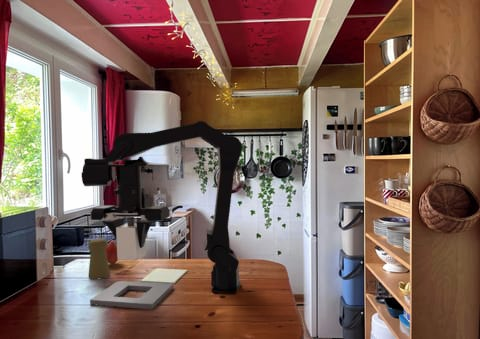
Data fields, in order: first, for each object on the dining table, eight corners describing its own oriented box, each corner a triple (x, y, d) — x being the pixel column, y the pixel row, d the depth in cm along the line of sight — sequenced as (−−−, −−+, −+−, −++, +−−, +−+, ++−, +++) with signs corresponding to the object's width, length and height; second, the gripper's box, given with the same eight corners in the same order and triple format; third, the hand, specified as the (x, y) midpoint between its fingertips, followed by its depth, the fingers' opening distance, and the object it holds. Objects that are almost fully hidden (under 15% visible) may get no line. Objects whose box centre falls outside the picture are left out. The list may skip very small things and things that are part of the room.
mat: (187, 271, 101) (187, 269, 101) (174, 283, 91) (174, 282, 91) (156, 269, 103) (156, 268, 103) (140, 281, 93) (140, 280, 93)
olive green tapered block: (113, 272, 102) (112, 236, 101) (103, 279, 96) (102, 241, 95) (95, 272, 102) (93, 236, 102) (83, 279, 96) (82, 241, 96)
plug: (146, 254, 85) (144, 215, 85) (136, 260, 80) (134, 219, 80) (128, 253, 86) (126, 215, 86) (117, 259, 81) (115, 219, 81)
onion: (99, 266, 107) (98, 242, 107) (111, 261, 113) (110, 237, 112) (114, 267, 106) (113, 243, 105) (125, 262, 111) (124, 238, 111)
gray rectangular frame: (173, 288, 88) (173, 283, 88) (152, 309, 76) (152, 304, 76) (118, 285, 91) (118, 280, 91) (90, 304, 79) (90, 299, 79)
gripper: (177, 181, 88) (179, 239, 89) (113, 182, 92) (116, 238, 93) (158, 185, 77) (161, 251, 78) (87, 186, 81) (90, 249, 82)
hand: (131, 247), depth 83 cm, fingers closed on plug, 5 cm apart
